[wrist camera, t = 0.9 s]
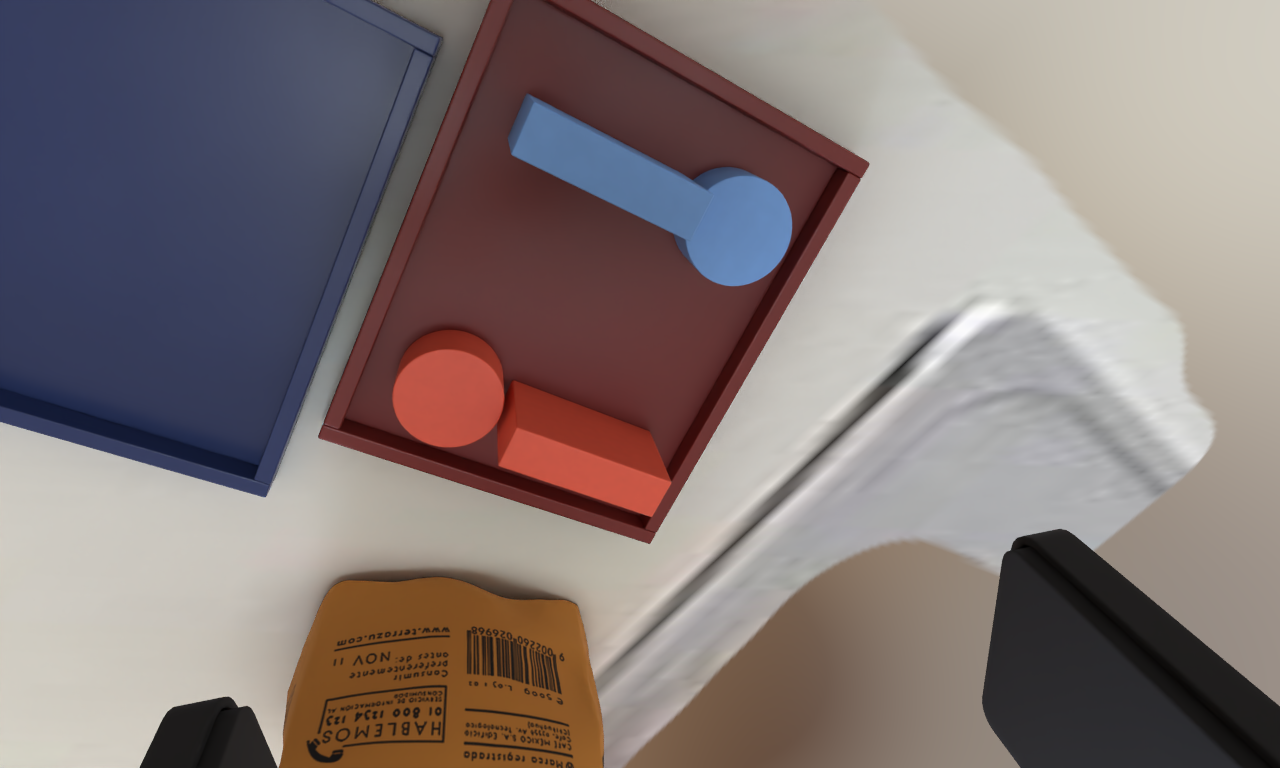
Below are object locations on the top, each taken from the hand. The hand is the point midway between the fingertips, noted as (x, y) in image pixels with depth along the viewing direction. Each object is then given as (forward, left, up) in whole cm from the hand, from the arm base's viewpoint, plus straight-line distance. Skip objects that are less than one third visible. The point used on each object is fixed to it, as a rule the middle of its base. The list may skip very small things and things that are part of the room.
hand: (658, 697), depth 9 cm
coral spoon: (+5, +2, -20) cm, 20 cm away
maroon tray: (0, +2, -20) cm, 20 cm away
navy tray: (+3, -13, -20) cm, 24 cm away
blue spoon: (-4, +2, -20) cm, 20 cm away
